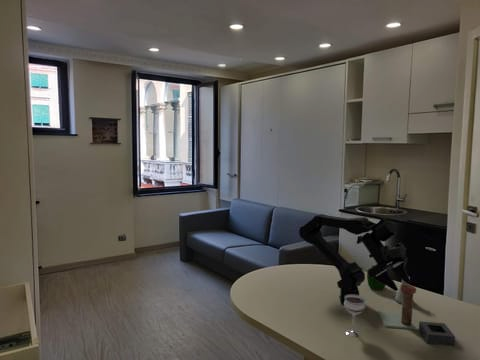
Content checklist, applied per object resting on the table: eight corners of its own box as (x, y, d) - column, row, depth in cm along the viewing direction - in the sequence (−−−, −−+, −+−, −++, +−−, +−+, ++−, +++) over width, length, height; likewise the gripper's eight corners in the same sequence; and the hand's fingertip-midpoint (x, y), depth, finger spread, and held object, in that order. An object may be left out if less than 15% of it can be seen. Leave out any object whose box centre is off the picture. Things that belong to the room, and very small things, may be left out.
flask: (416, 306, 139) (418, 281, 137) (396, 304, 140) (398, 279, 139) (411, 297, 146) (412, 274, 145) (392, 296, 147) (393, 272, 146)
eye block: (427, 343, 114) (428, 334, 114) (418, 329, 122) (419, 321, 122) (454, 345, 113) (455, 336, 113) (443, 331, 121) (444, 323, 121)
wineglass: (347, 325, 125) (349, 292, 123) (366, 332, 120) (368, 298, 119) (339, 333, 119) (340, 299, 118) (359, 341, 115) (361, 305, 114)
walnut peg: (401, 326, 123) (403, 290, 121) (397, 319, 128) (398, 284, 126) (415, 327, 122) (418, 291, 120) (411, 320, 127) (413, 285, 125)
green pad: (384, 326, 124) (384, 325, 124) (377, 312, 133) (378, 311, 133) (415, 329, 122) (415, 327, 122) (406, 314, 132) (406, 313, 132)
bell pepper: (388, 286, 156) (390, 264, 155) (384, 293, 149) (386, 270, 148) (368, 282, 161) (370, 260, 159) (364, 288, 154) (365, 266, 152)
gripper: (378, 241, 120) (408, 284, 114) (404, 232, 132) (433, 269, 126) (356, 257, 127) (383, 298, 121) (382, 247, 139) (408, 283, 133)
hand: (403, 286), depth 125 cm, fingers open, 9 cm apart
